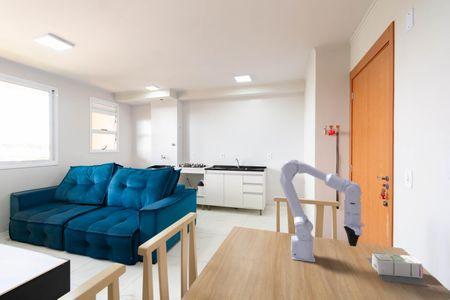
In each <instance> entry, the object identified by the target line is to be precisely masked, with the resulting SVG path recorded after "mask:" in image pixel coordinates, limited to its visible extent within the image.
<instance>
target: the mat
mask: <svg viewBox="0 0 450 300" xmlns="http://www.w3.org/2000/svg"><path fill="white" fill-rule="evenodd" d="M366 259H367V260H368V262H369V263H370V264H371V265H372V257H366ZM378 275H379V276H380V277H381V279H382V280H383V281H384V282H390V283H398V284H405V285H412V286H413V285H414V286H419V287H428V285H427V283H425V282H424V281H423V280H422V278H416V277H405V276H394V275H383V274H378Z"/></svg>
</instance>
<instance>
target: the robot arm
mask: <svg viewBox="0 0 450 300" xmlns="http://www.w3.org/2000/svg"><path fill="white" fill-rule="evenodd" d="M280 169H281V170H280V171H281V172H280V177H279V183H280V185H281V188H282V190H283V193H284V196H285V198H286V200H287V204H288V206H289V209H290V211H291V214H292V217H293V222H294V223H293V225H294V227H295V228H294V234H295V235H291V237H290V239H291V240H290V241H291V242H290V243H291V244H290V246H291V247H290V253H291V260H294V261H295V260H296V261H304V262H311V263H316V258H315V255H314V236H313V234H312V232H313V230H314V225H313V223H312V222H311V221H310V219H309V218H308V216H307V215H306V213H305V212H304V211H305V210H303V206H302V203H301V202H300V199H299V196H298V194H297V191H296V189H295V186H294V184H293V180H294V178H295V176H296V175H297V174H308V175H310V176H312V177H315V178H317V179H318V180H321V181H324V185H325V186H327V187H329V188H331V189H333V190H336V191H337V192H340V193H343V194H344V201H343V202H344V206H343V207H344V209H343V210H344V214H343V215H344V218H343V219H344V221H343V225H344V226H343V229H344V230H345V233H346V236H347V240H348V244H349V246H350V247H357V244H358V241H359V238H360V236H363V231H362V227H365V224H364V222H362V202H361V196H362V193H363V192H362V189H361V186H360V185H359V184H358V183H356V182H355V181H351V179H349V178H348V179H346V178H344V177H342V176H339V173H329V174H328V173H327V172H324V171H321V170H320V169H318V168H316V167H314V166H311V165H310V164H307V163H306V162H304V161H299V160H297V159H291V160H288V161H285V162H284V163H283V165H282V167H281V168H280Z"/></svg>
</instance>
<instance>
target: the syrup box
mask: <svg viewBox="0 0 450 300" xmlns="http://www.w3.org/2000/svg"><path fill="white" fill-rule="evenodd" d="M371 254H372V256H371V258H372V264H371V266H372V267H373V269H374V270H375V271H376V272H377V274H378V275H379V274H383V275H394V276H405V277H416V278H420V279H423V274H424V273H423V272H424V270H423V269H424V268H423V264H422V262H421V261H419V260H418V259H417V258H415V257H414V256H413V255H403V254H392V253H390V254H389V253H377V252H372V253H371Z"/></svg>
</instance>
